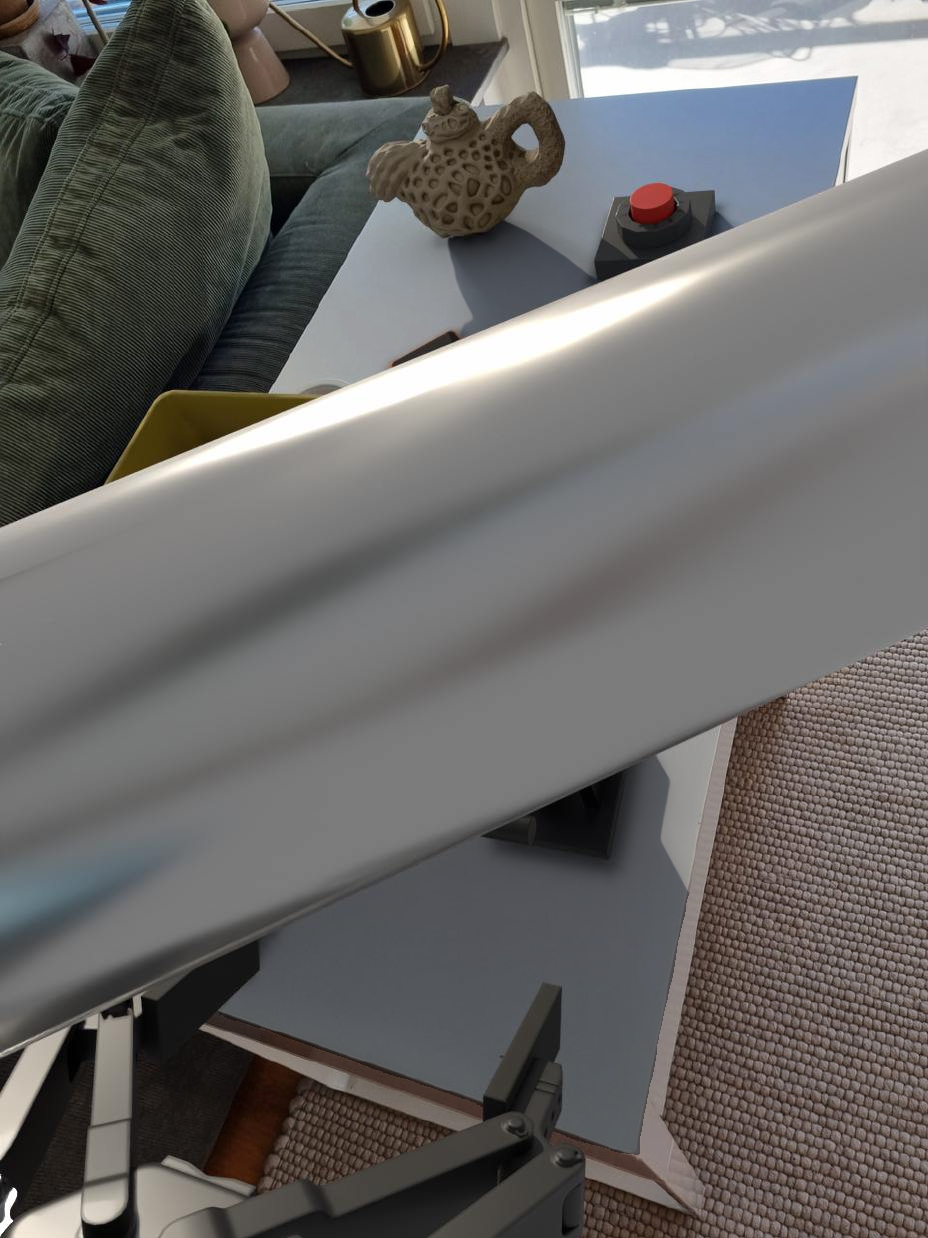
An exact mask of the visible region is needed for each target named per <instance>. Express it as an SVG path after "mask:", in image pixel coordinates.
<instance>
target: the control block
mask: <svg viewBox="0 0 928 1238" xmlns="http://www.w3.org/2000/svg"><path fill="white" fill-rule="evenodd" d="M670 187H671V188H672V190H673V197H674V208H675V209H674V212H673V214H672V215H671V216H670V217H669V218H668V219H665V220H663V221H660V222H658V223H654V224H640V223H637V222H635V221H634V220H633V218H632V212H631V204H630V198H631V195H632V194H630V195H625V196H615V197H613V199H612V203H611V205H610V209H609V212H608V215H607V217H606V221H605V225H604V228H603V231H602V235H601V237H600V241H599V244H598V247H597V251H596V254H595V256H594V260H593V263H594V269H595V275H596V280H598V281H600V280H602V281H605V280H608V279H610V278H613V277H615V276H618V275H620V274H622V273H625V272H627V271H630V270H632V269H635V268H637V267H640V266H642V265H644V264H647V263H649V262H652V261H654V260H657V259H659V258H662V257H664V256H667V255H669V254H671V253H674V252H676V251H679V250H681V249H684V248H686V247H689V246H691V245H693V244H696V243H698V242H701V241H703V240H706V239H708V238H711V232H712V227H713V223H714V218H715V213H716V211H717V210H716V209H717V208H716V190H715V189H707V190H694V191H685V190H684V189H680V188H678V187H673V186H670Z"/></svg>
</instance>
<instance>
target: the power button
mask: <svg viewBox="0 0 928 1238" xmlns="http://www.w3.org/2000/svg"><path fill="white" fill-rule="evenodd" d="M671 187H672V186H670V185H668V184H667V183H662V182H653V183H647V184H645V185H642V186H640V187H638V188H637V189H635V191H633V192H632V194H630V195H631V198H630V204H631V212H632V218H633V220H634V221H635V222H637V223H640V224H654V223H658V222H660V221H663V220H665V219H668V218H669V217H670V216H671V215H672V214H673V212H674V209H675V208H674V197H673V190H672V188H671Z"/></svg>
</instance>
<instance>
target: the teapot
mask: <svg viewBox="0 0 928 1238" xmlns="http://www.w3.org/2000/svg"><path fill="white" fill-rule="evenodd" d="M429 99H430V101H431V104H432V108H431V109H430V110H429V111H428V113H427V114H426V116H425V118H424V120H422V122H421V128H422V132H423V133H424V134H425V136H426V138H425V139H422V138H418V139H414V140H412V141H409V140H408V139H407V140H399V141H398V140H396V141H390V142H389V141H388V142H386V143H384V144H382V146H381V147H379V148H377V149H376V151H374V153H373V154H372V156H371V158H370V159H369V161H368V162H367V163H368V164H367V169H366V174H365V179H366V181H367V182H368V184H369V193H370V194H371V195H372V196H374V198H375V200H376V201H382V202H384V203H391V202H392V201H393V200H394V199H398V200H399V201H400V202H401V203H405V204H407V206H409V207H410V209H411V210H412V213H413V216H414V217H415V218H416V219H417V220H418V221H419V222H421V223H422V225H424V226H425V227H426V228H428V229H430V230H431V231H432V232H433V233H434V234H436V236H438V237H440V238H441V239H447V238H450V237H452V236H453V237H455V236H456V237H461V238H470V237H473V236H477V235H482V234H484V233H489V232H490V231H492V230H493V228H494V227H495V226H497V225H498V224H499V223H500V222H502V221H504V220H505V219H506V218H508V217H509V216H510V214H511V213H512V212H513V211H514V209H515V208H516V206H517V205H518V203H519V202H520V199H521V198H522V196H523V194H524V193H525V191H526V190H528V189H531V188H541V187H544V186H546V185H548V184H549V182H551V180H552V179H553V178H554V177H556V176H557V175H558V174H559V172H560V171H561V167H562V166H563V161H564V157H565V152H566V151H565V150H566V139H565V136H564V133H563V131H562V128H561V126H560V123H559V121H558V119H557V116H556V114H555V112H554V110H553V108H552V106H551V104H549V102H548V101H546V99H544V98H543V97H542V96H541V95H539V93H537V92H535V91H534V90H533V91H527V92H525V93H521V94H519V95H517V96H515V97H514V98H512V99H511V100H510V101H508V103H506V104H505V105H504V106H502V107H500V108H499V109H498V110H497V111H495V112H494V113H493V114H491V115H489V116H488V117H487V118H485V119H483V120H480V119H479V116H478V113H477V112H476V111H475V110H474V109H473V108H472V107H469V104H467V103H466V102H465V101H461V100H457V99H454V95H453V92H452V89H451V87H450V85H448V84H445V85H442V86H438V87H435V88H433V89H432V90H431V91H429ZM523 125H528V126H529V127H531V128H532V131H533V133H534V136H535V137H536V139H537V142H538V147H535V148H534V149H529V150H528V149H526V148H525V147H522V146H521V145H519V144H518V143H517V142H516V141H515V140H514V139H513V135H514V134H515V133H516V131H517V130H518V129H520V127H522V126H523Z"/></svg>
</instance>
